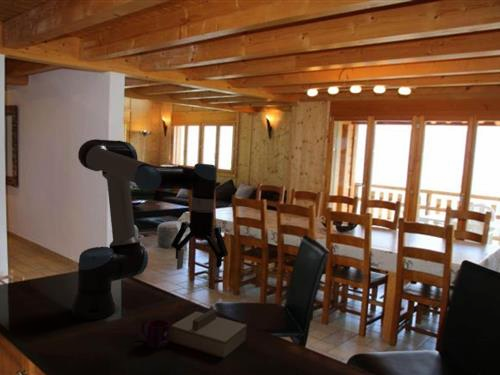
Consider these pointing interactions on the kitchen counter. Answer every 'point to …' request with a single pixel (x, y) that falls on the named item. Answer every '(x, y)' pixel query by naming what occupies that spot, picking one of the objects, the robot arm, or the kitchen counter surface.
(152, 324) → the mug
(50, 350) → the kitchen counter surface
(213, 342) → the beige open box
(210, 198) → the robot arm
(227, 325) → the lid
